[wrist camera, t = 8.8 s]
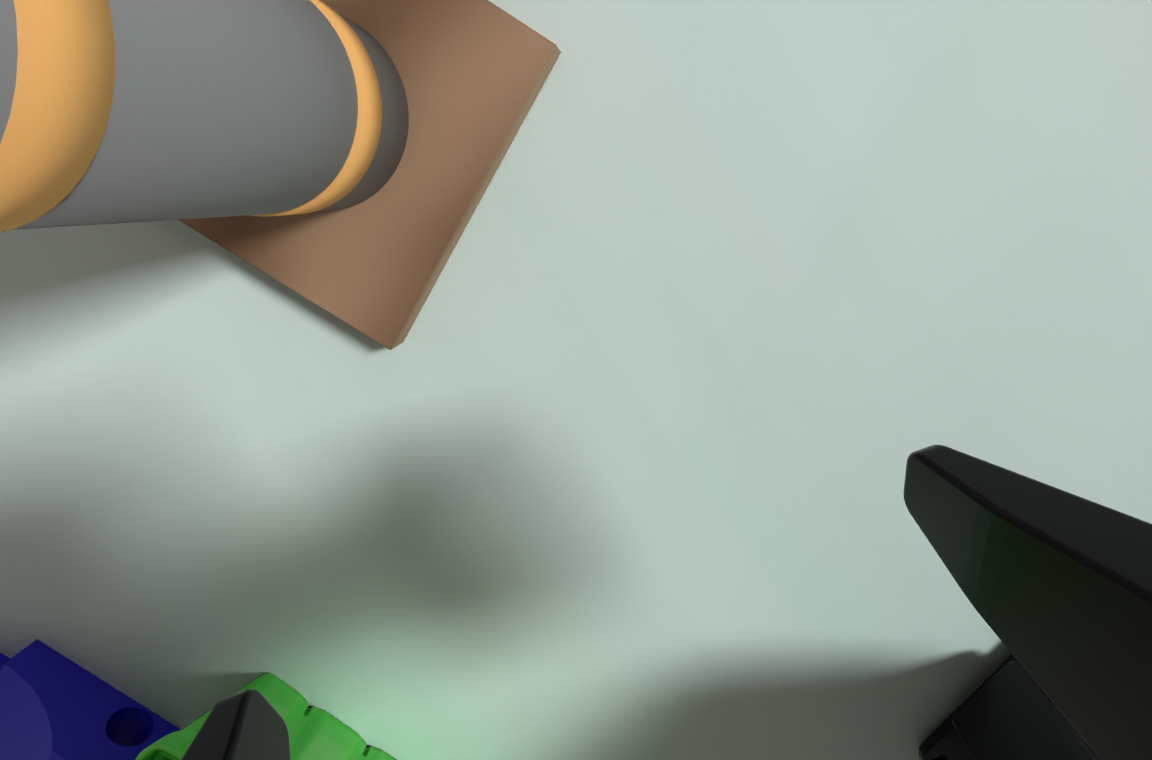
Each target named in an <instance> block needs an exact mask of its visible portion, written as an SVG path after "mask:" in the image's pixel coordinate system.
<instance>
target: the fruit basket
mask: <svg viewBox="0 0 1152 760" xmlns="http://www.w3.org/2000/svg"><path fill="white" fill-rule="evenodd" d="M251 688H252V689H255V690H257V691H259V692H260V693H261V694H262V696H263V697H264V698H265V699H266V700H267V701H268V702H269V704H270V705H271V706H272V707H273V708H274V709H275V710H276V711H277V713H278V714H279V715H280V716H281V717H282V718H283V720H284V722H285V724H286V726H287V729H288V733H289V741H290V758H291V760H395V759H394V758H392V757H391V756H389V755H388V754H386V753H385V752H383V751H381V750H379V749H376V748H374V747H372V746H371V747H366V742H365V741H364V740H363V739H362V738H361V737H360V736H359V735H358V733H356V732H355V731H353V730H352V729H350V728H349V727H347V726H346V725H344V724H343V723H342V722H340V721H339V720H337V719H336V718H335V717H333V716H332V715H330V714H329V713H327V712H326V711H323V710H320V709H318V708H316V707H311V708H310V707H309V706H308V702H307V701H306V700H305V699H304V698H303V696H302V695H301V694H300V693H299V692H297V691H296V690H294V689H293V688H291V687H290V686H288V685H287V684H285V683H284V682H282V681H281V680H280V679H278V678H277V677H275V676H274V675H272V674H270V673H265V674H263V675H261V676H259V677H258V678H256V679H255V680H254V681H252V682H251V683H249V684H248V685H246V686H245V687H243V688H242V689H240V690H239V691H237V692H236V693H238V692H240V691H243V690H246V689H251ZM211 710H212V709H211ZM211 710H210V711H209V712H207V713H206V714H204V715H203V716H201V717H200V718H198V719H197V720H195V721H194V722H192V723H191V724H190V725H188V726H187V727H185V728H184V729H182V730H181V731H176V732H172V733H170V734H168V735H166V736H164V737H163V738H161V739H159V740H158V741H156V742H155V743H153V744H151V745H150V746H148V747H147V748H145V749H144V750H143V751H141V752H140V753H139V755H138V756H137V758H136V759H135V760H181V759H182V757H183V755H184V754H185V752H186V751H187V749H188V747H189V746H190V744H191V743H192V741H193V739H194V738H195V736H196V734H197V733H198V731H199V730H200V728H201V726H202V725H203V723H204V722H205V720H206V718H207V717H208V715H209V714H210V712H211Z"/></svg>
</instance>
